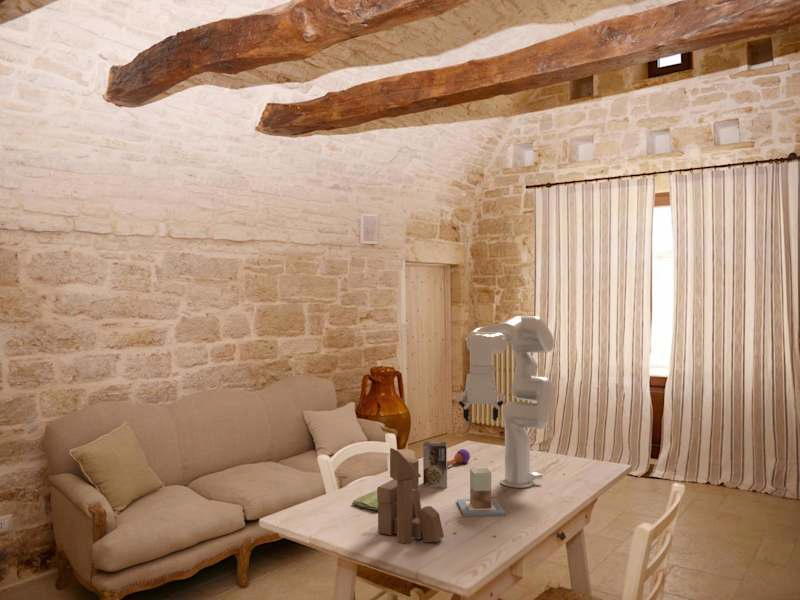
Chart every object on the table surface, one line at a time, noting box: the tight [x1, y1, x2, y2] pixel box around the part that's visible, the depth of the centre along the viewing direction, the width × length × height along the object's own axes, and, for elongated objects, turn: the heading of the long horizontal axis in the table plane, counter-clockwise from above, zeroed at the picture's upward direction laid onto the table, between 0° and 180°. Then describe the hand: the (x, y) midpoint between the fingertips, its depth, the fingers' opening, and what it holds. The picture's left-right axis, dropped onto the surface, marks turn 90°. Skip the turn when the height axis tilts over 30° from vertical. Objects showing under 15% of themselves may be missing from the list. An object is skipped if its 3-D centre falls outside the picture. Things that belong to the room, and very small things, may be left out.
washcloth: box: [351, 489, 378, 512], centre depth 224 cm, size 13×18×3 cm
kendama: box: [447, 448, 471, 468], centre depth 271 cm, size 6×6×20 cm
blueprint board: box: [456, 497, 506, 517], centre depth 218 cm, size 14×14×1 cm
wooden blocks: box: [376, 447, 445, 544], centre depth 196 cm, size 24×20×28 cm
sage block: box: [469, 467, 492, 492], centre depth 218 cm, size 6×6×6 cm
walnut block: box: [469, 485, 492, 509], centre depth 218 cm, size 6×6×6 cm
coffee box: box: [422, 441, 448, 489], centre depth 244 cm, size 9×6×16 cm
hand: (480, 420), depth 218 cm, fingers open, 9 cm apart
